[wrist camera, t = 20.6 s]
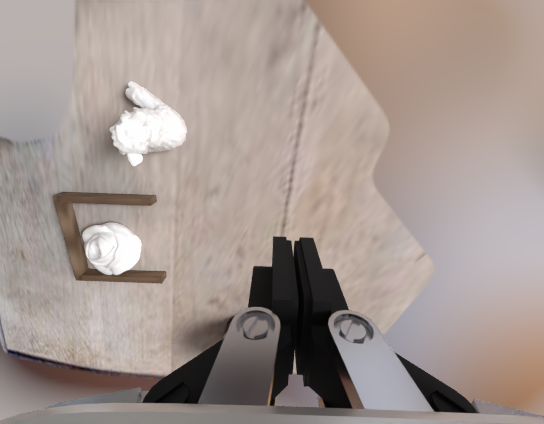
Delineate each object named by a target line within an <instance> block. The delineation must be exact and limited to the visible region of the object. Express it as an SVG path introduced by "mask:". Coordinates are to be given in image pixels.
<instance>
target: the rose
mask: <svg viewBox="0 0 544 424" xmlns="http://www.w3.org/2000/svg"><path fill="white" fill-rule="evenodd" d="M82 238H83V241H84V250H85V253H86V256H87V258H88V259H89V261H90V262H91V263H92V264H93V266H94V267H95V268H96V269H97V270H99V271H100V272H102V273H104V274H106V275H112V274H114V275H119V274H121V273H123V272H125V271H127V270H129V269H131V268H132V267H133V266H134V265H135V264H136V263H137V262H138V260H139V258H140V252H141V246H142V243H141V241H140V239H139V238H138V237H137V236H136V235H134V234H133V233H132V232H131V231H130V230H129V229H128V228H127V227H125V226H123V225H121V224H119V223H115V222H108V223H106V224H103V225H93V226H90V227H88V228H87V229H85V230H84V232H83V234H82Z"/></svg>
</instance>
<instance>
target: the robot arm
mask: <svg viewBox="0 0 544 424" xmlns="http://www.w3.org/2000/svg"><path fill="white" fill-rule="evenodd" d="M294 351H295V358H296V369H297V375H303V382H304V386H309V387H310V388H311V389H312V390H314V391H315V392H316V393H317V394H318V397H317V399H318V405H319V408H316V407H285V406H275V405H276V396H277V395H278V394H279V393H280V392H281V391H282V390H283V389H284V388H285V387H286V386H287V385H288V376H289V374H292V373H293V362H294ZM0 424H544V416H541V415H537V414H533V413H529V412H525V411H521V410H517V409H513V408H509V407H505V406H501V405H497V404H493V403H488V402H485V401H481V400H477V399H473V401H472V403H470V402H469V401H468V400H467V399H466V398H465V397H463V396H462V395H461V394H459V393H458V392H457V391H455V390H454V389H452V388H451V387H449V386H447V385H446V384H444V383H442V382H441V381H439V380H438V379H436V378H435V377H433V376H431V375H430V374H428V373H426V372H425V371H423V370H422V369H420V368H418V367H417V366H415V365H414V364H412V363H411V362H409V361H407V360H406V359H404V358H403V357H401V356H400V355H398V354H396V353H395V352H394V351H393V350H392V348H391V347H390V345H389V344H388V342H387V341H386V339H385V338H384V336H383V335H382V333H381V332H380V330H379V329H378V327H377V326H376V325H375V323H374V322H373V321H372V320H371V319H369V318H368V317H367V316H365V315H363V314H361V313H359V312H356V311H352V310H349V309H348V306H347V304H346V301H345V298H344V296H343V293H342V290H341V288H340V285H339V282H338V280H337V277H336V275H335V272H334V270H333V269H323V268H322V265H321V262H320V258H319V255H318V252H317V249H316V245H315V242H314V239H313V238H300V239H299V241H295V243H294V256H293V251H292V243H291V241H289V240H286V237H273V257H272V267H263V266H254V268H253V275H252V282H251V290H250V297H249V304H248V308H246V309H244V310H242V311H240V312H239V313H237V314H236V315H235V316H234V318H233V319H232V321H231V324H230V326H229V329H228V331H227V333H226V336H225V338H224V339H222V340H221V341H219V342H218V343H216V344H215V345H213V346H212V347H210V348H209V349H207V350H206V351H204V352H203V353H201V354H200V355H198V356H197V357H195V358H194V359H192V360H190V361H189V362H187V363H186V364H184V365H183V366H181V367H180V368H178V369H177V370H175V371H174V372H172V373H171V374H169V375H168V376H166V377H165V378H163V379H162V380H160V381H159V382H158V383H157V384H156V385H154V386H153V387H152V388H151V389H150V390H149V391H144V392H141V389H140V388H135V389H129V390H124V391H119V392H114V393H108V394H103V395H98V396H93V397H87V398H82V399H76V400H72V401H66V402H61V403H58V404H55V405H52V406H49V407H47V408H45V409H42V410H37V411H33V412H28V413H24V414H19V415H16V416H13V417H10V418H6V419H4V420H0Z"/></svg>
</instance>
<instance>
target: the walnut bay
mask: <svg viewBox="0 0 544 424" xmlns="http://www.w3.org/2000/svg"><path fill="white" fill-rule="evenodd" d="M53 199H54V203H55V206H56V210H57V214H58V217H59V221H60V224H61V228H62V231H63V235H64V239H65V242H66V246H67V249H68V253H69V256H70V260H71V264H72V267H73V271H74V274H75V278H76V280H81V281H109V282H137V283H162V282H163V281H164V279H165V278H166V272H163V271H135V270H127V271H125V272H123V273H121V274H119V275H114V274H112V275H106V274H104V273H102V272H100V271H99V270H97V269H89V268H88V264H87V260H86V256H85V252H84V248H83V244H82V240H81V237H80V233H79V229H78V225H77V221H76V217H75V213H74V209H73V205H72V203H93V204H121V205H148V206H151V205H152V204H154V203H155V202H156V201H157V200H156V195H134V194H107V193H79V192H61V193H58V194H56V195H53Z"/></svg>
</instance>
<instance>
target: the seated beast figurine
mask: <svg viewBox="0 0 544 424" xmlns="http://www.w3.org/2000/svg"><path fill="white" fill-rule="evenodd" d="M128 86H129V88H127V89H126V96H127V97H128V98H129V99H130V100H131V101H133V102H134V104H135V105H139V106H140V107H141V108H136V107H133V111H132V112H131V113H129V112H128V111H124V114H121V117H120V120H119V121H117V123H116V124H115V125H114V126H112V127H111V128H110V129H109V131H110V132H111V134H112V136H111V138H112V139H113V141H114V142H113V145H114V146H115V147H117V148H118V149H119V153H121V154H122V155H125V154H127V157H128V159H129V161H130V163H131V164H132V165H133V166H136V165H138V164H139V163H141V162H142V161H143V157H142V154H147V152H150V153H151V152H153V151H154V152H156V151H158V152H160V151H166V150H168V151H170V149H175V148H176V147H177V146H181V145H182V143H183V142H184V141H185V140H186V133H187V127H186V126H185V122H184V120H183V119H182V118H181V116H180V115H179V114H178V113H177V112H176V111H174V110H173V109H171V108H170V107H169V106H167V105H166V104H163V103H162V101H161V100H160V99H158V98H156V96H154V95H153V94H152V93H150V92H148V91H147V89H145V88H143V87H141V86H140V85H139V84H137V83H135V82H133V81H131V82H130V83H129V84H128Z"/></svg>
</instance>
